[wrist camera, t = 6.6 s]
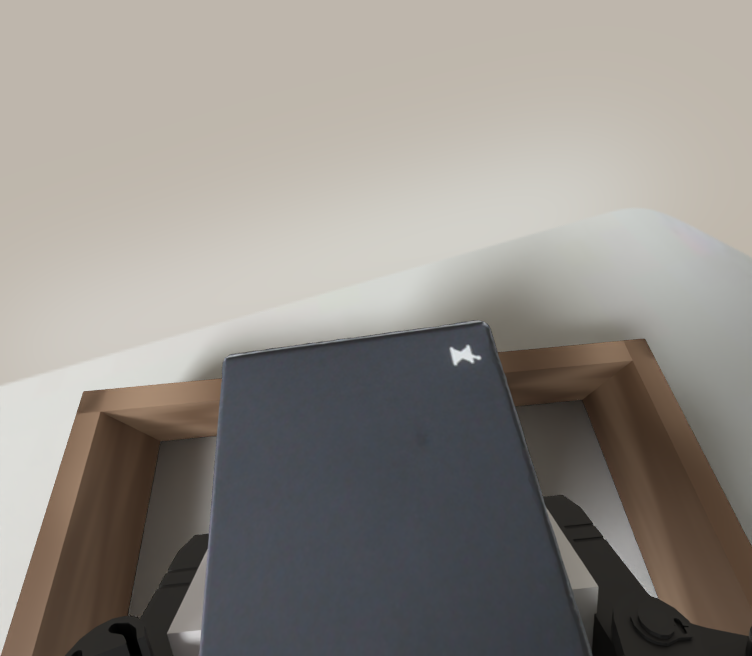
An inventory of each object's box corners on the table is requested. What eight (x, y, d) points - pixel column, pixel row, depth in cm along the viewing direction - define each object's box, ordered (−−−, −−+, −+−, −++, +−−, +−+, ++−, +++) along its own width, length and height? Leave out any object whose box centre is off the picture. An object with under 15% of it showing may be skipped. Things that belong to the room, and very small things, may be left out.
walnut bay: (593, 381, 22) (645, 338, 17) (748, 760, 14) (908, 852, 10) (145, 424, 21) (83, 391, 17) (54, 848, 13) (-103, 988, 9)
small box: (304, 450, 18) (206, 342, 8) (444, 431, 18) (497, 305, 9) (313, 788, 12) (76, 1481, 3) (514, 756, 12) (846, 1324, 3)
